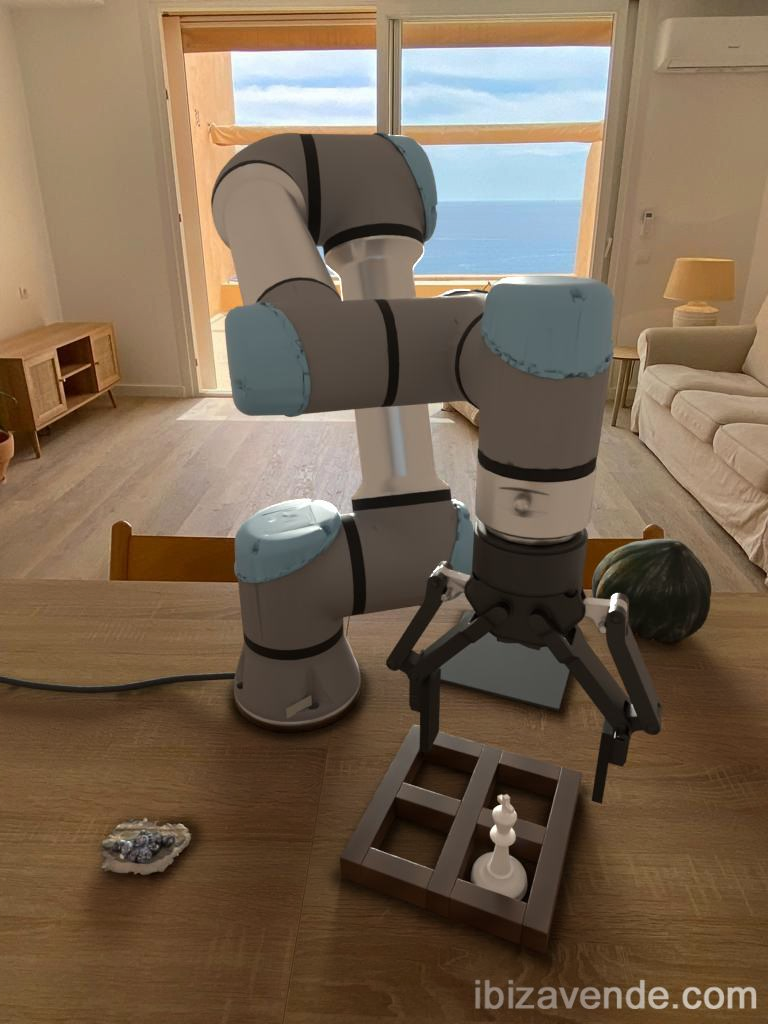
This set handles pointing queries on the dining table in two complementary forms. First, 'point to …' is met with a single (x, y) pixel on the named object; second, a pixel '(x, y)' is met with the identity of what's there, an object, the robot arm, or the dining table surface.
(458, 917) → the holder
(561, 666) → the mat
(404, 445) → the robot arm
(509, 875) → the chess piece
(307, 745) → the dining table surface
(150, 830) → the blueberries
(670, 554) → the squash
